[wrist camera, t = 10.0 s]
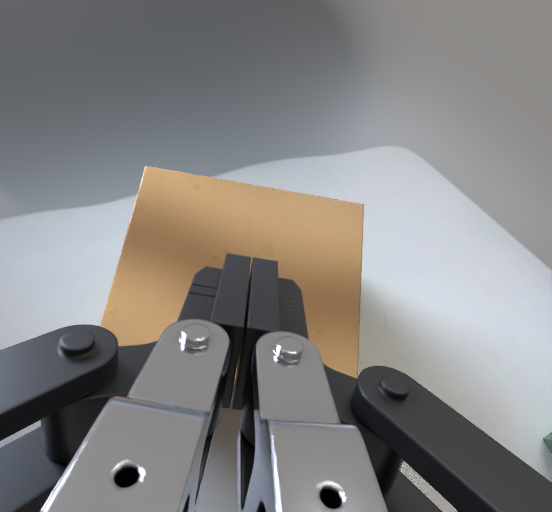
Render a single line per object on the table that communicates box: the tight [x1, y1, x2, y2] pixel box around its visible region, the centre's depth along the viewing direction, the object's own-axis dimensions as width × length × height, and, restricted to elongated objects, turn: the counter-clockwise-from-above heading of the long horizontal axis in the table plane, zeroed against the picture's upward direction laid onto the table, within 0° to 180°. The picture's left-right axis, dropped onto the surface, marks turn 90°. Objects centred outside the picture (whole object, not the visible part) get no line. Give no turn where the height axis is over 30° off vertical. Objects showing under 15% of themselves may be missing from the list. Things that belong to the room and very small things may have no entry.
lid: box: [100, 166, 364, 380], centre depth 22 cm, size 11×14×1 cm
